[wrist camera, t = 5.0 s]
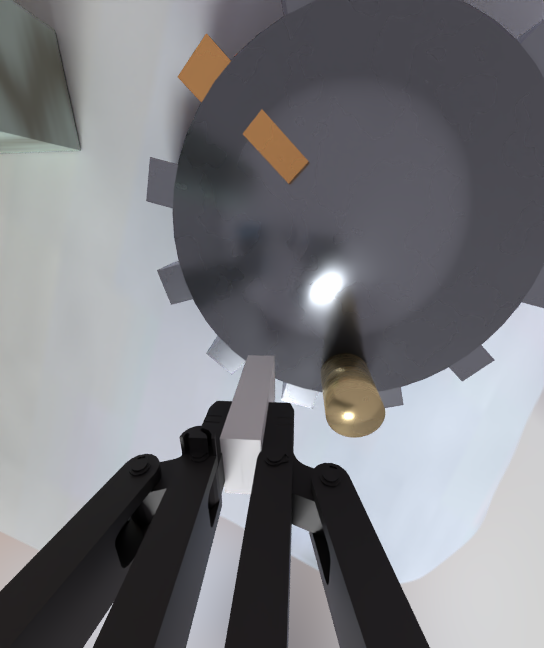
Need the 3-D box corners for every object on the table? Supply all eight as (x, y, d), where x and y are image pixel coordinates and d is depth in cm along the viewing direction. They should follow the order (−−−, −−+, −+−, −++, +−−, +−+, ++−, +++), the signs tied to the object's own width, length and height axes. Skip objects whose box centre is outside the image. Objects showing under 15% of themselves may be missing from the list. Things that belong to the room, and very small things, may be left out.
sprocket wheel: (493, 391, 22) (573, 468, 16) (190, 382, 24) (151, 447, 18) (618, -30, 14) (893, -230, 8) (140, 4, 16) (31, -133, 9)
